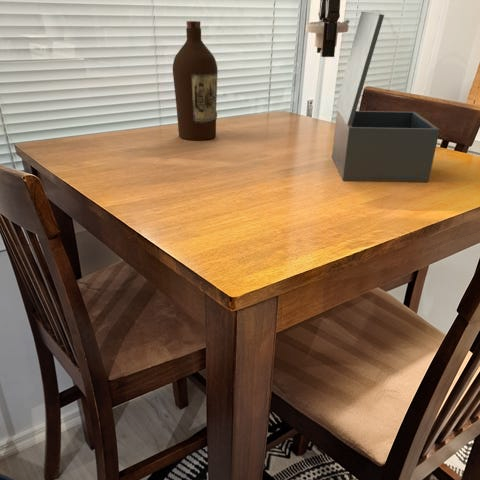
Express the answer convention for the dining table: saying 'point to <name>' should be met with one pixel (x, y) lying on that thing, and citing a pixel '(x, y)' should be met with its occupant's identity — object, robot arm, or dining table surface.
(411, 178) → the chest
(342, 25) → the showerhead
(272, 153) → the dining table surface
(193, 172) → the dining table surface
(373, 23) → the lid
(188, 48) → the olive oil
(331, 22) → the robot arm
